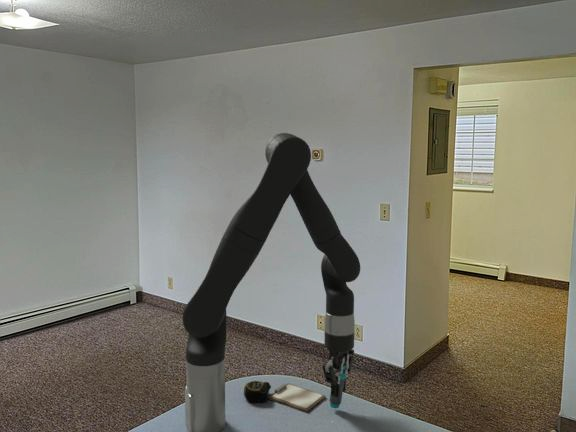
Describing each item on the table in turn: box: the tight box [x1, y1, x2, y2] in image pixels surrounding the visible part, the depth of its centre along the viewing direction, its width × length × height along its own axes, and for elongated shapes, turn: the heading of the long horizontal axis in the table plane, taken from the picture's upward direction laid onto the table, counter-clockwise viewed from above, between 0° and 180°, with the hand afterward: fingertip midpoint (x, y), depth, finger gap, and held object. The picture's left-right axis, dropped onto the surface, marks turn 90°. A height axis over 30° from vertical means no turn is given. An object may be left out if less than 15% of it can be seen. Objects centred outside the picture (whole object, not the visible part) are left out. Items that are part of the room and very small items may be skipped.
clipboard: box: [267, 383, 327, 414], centre depth 135 cm, size 12×10×2 cm
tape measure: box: [243, 380, 272, 403], centre depth 135 cm, size 7×7×4 cm
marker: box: [329, 370, 346, 409], centre depth 128 cm, size 3×3×9 cm
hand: (338, 393), depth 128 cm, fingers closed on marker, 3 cm apart
